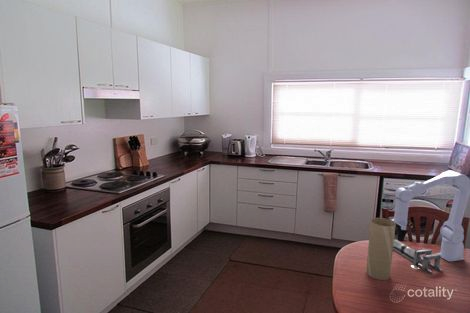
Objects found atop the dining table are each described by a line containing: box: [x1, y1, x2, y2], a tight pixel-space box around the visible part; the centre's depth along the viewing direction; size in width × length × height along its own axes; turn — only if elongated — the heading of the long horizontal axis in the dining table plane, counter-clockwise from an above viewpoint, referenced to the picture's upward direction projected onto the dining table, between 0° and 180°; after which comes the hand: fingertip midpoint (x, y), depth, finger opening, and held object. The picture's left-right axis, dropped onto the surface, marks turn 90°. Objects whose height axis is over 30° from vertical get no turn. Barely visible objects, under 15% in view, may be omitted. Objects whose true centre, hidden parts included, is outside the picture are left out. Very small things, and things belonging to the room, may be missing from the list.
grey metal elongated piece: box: [393, 238, 422, 261], centre depth 164 cm, size 16×4×4 cm, turn 15°
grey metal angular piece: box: [393, 247, 444, 275], centre depth 157 cm, size 12×25×7 cm, turn 15°
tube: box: [365, 217, 396, 281], centre depth 143 cm, size 10×10×25 cm
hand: (398, 237), depth 160 cm, fingers open, 7 cm apart
